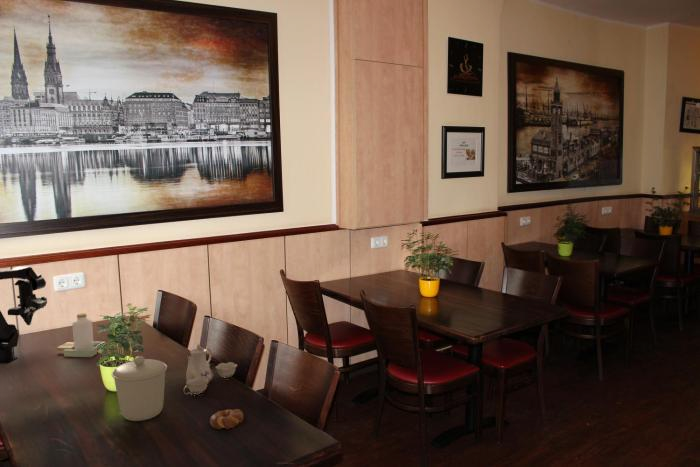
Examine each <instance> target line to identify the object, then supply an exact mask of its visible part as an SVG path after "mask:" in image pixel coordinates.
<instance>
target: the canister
mask: <svg viewBox="0 0 700 467" xmlns="http://www.w3.org/2000/svg"><path fill="white" fill-rule="evenodd" d="M167 369H168V365H167V363H165V362H163V361H161V360H158V359H151V358H147V359H146V358H145V357H144V356H142V355H138V356H136V357H135V358H134V359H133V360H131V361H128V362H125V363H122V364H120V365H119V366H117V367H115V369H113V370H112V372H111V377H112V378H113V380H114V384H115V392H116V396H117V400H118V404H119V408H120V413H121V415H122V417H123V418H124V419H126V420H128V421H132V422H141V421H147V420H151V419H152V418H154V417H157V416H158V415H159V414H160V413H161V412H162V410H163V407H164V398H165V386H166V385H165V383H166V382H165V381H166V371H167Z"/></svg>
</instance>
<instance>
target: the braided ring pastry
mask: <svg viewBox="0 0 700 467" xmlns="http://www.w3.org/2000/svg"><path fill="white" fill-rule="evenodd" d="M243 421H244V413H243V411H242V410H241V409H238V408H235V409H228V408H227V409H225V410H219V411H217V412H215V413H214V414H212V415H211V417H210V418H209V424H210V425H211V427H212V428H213V429H217V430H223V429H222V428H225V429H226V430H230V429H229V428H232V429H234V428H236V427H237V426H238V425H239V424H240V423H242V422H243ZM239 422H240V423H239ZM238 423H239V424H238ZM236 425H237V426H236ZM235 426H236V427H235ZM233 427H234V428H233Z"/></svg>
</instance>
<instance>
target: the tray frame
mask: <svg viewBox="0 0 700 467" xmlns="http://www.w3.org/2000/svg"><path fill="white" fill-rule="evenodd" d="M105 342H106V341H94V345H97V346H98V345H100V344H102V343H105ZM97 346H96V347H94V348H92V349H91V350H64V354H63V357H65V358H69V357H71V358H72V357H73V358H74V357H75V358H78V357H79V358H93V357H94V356H95V355H97V354H98V353H97Z"/></svg>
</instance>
